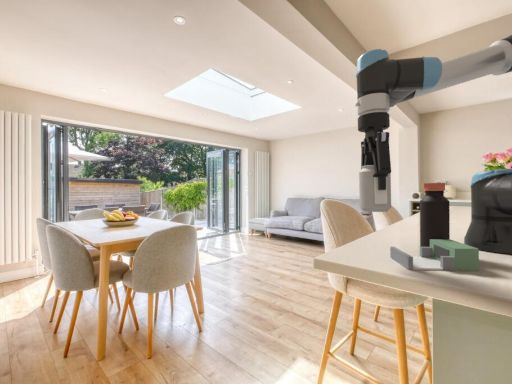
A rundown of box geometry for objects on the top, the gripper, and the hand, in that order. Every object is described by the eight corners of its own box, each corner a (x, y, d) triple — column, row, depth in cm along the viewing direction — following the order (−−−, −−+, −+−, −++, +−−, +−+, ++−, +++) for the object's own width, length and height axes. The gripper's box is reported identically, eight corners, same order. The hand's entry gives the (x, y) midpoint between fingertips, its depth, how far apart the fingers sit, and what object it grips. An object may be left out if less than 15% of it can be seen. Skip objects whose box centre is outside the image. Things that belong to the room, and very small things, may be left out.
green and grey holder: (449, 258, 68) (449, 239, 67) (478, 270, 58) (478, 248, 57) (390, 257, 69) (390, 239, 69) (408, 269, 59) (408, 248, 59)
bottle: (455, 257, 68) (455, 182, 68) (430, 257, 69) (430, 183, 68) (438, 250, 75) (438, 182, 75) (415, 250, 75) (414, 183, 75)
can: (395, 212, 62) (394, 163, 62) (362, 212, 64) (361, 164, 64) (386, 209, 70) (385, 165, 69) (357, 209, 71) (356, 166, 71)
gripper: (348, 124, 77) (350, 200, 77) (371, 103, 57) (373, 206, 57) (374, 123, 76) (375, 199, 76) (407, 100, 56) (409, 205, 56)
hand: (375, 202), depth 67 cm, fingers closed on can, 7 cm apart
